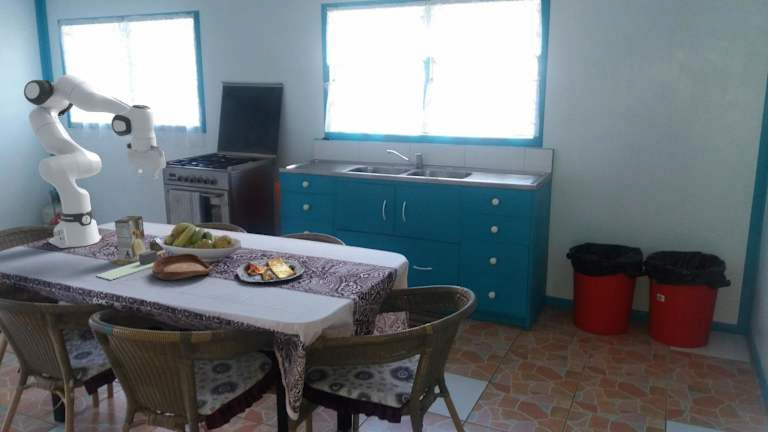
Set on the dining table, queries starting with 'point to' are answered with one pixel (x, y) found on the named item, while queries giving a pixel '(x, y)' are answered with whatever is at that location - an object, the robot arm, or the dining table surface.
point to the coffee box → (130, 237)
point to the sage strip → (132, 266)
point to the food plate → (269, 270)
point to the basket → (179, 267)
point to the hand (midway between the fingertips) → (148, 177)
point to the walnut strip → (153, 246)
